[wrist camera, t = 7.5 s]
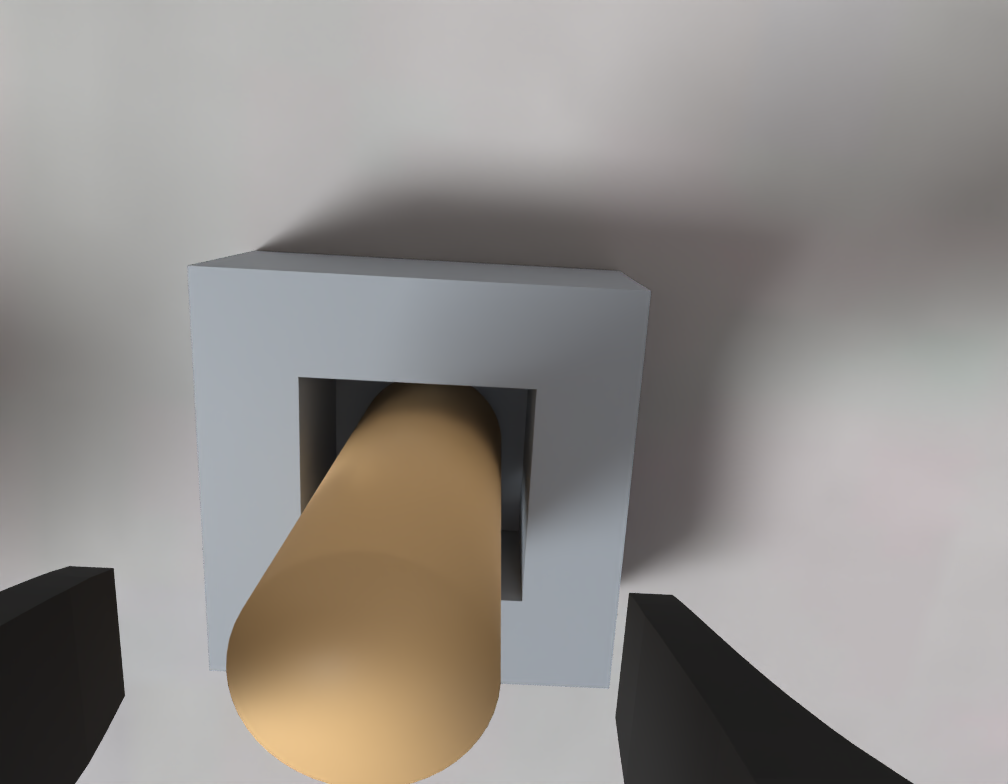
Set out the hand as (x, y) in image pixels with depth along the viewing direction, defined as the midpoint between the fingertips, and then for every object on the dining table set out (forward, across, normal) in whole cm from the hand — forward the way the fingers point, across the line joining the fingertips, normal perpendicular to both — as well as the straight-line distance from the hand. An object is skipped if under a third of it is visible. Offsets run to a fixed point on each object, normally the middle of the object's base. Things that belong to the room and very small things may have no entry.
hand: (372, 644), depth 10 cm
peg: (+9, 0, 0) cm, 9 cm away
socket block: (+9, 0, 0) cm, 9 cm away
